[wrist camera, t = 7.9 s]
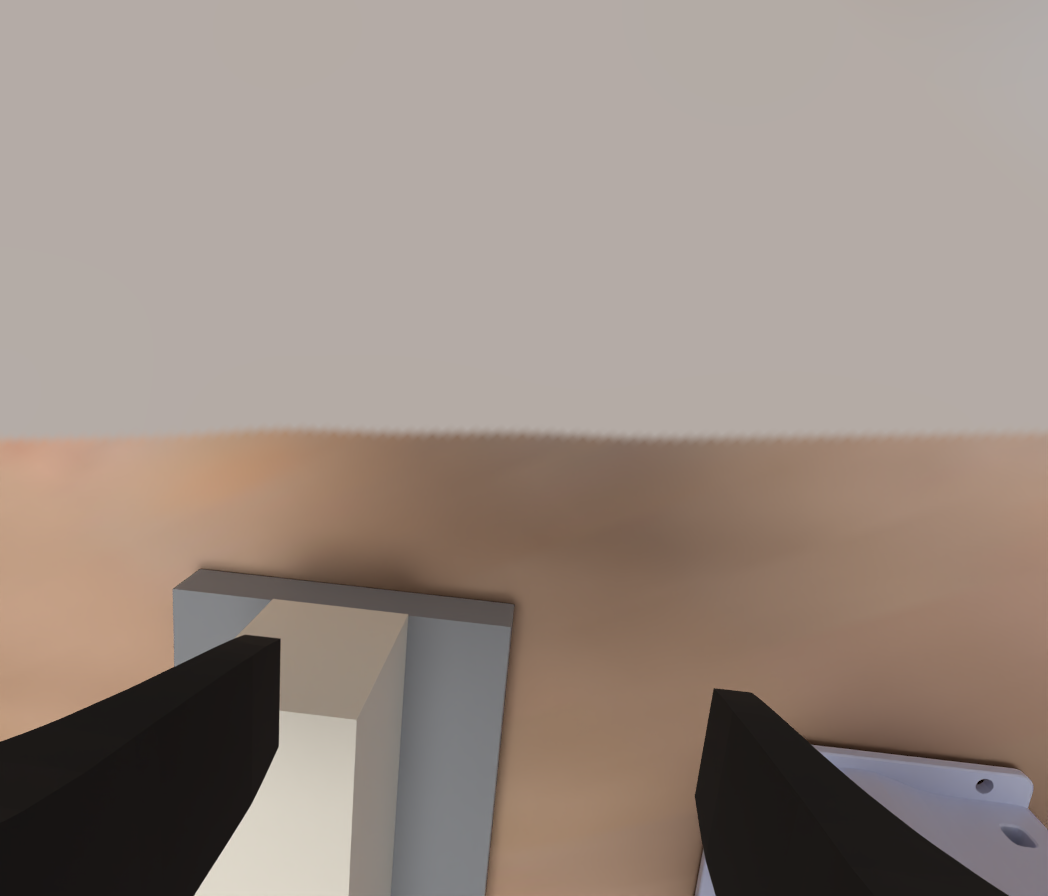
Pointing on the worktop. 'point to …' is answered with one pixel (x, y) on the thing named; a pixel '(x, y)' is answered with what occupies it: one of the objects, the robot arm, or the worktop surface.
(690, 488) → the worktop surface
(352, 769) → the cream block
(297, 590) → the grey deck
